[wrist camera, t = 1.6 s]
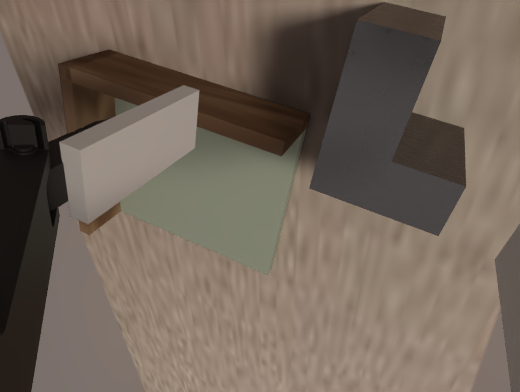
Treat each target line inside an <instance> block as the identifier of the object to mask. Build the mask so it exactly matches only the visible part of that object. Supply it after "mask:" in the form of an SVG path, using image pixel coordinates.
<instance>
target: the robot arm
mask: <svg viewBox="0 0 520 392" xmlns="http://www.w3.org/2000/svg"><path fill="white" fill-rule="evenodd" d="M198 102H199V90H197V89H194V88H191V87H188V86H185V85H183V86H181V87H179V88H176V89H174V90H172V91H170V92H168V93H165V94H163V95H161V96H159V97H157V98H154V99H152V100H150V101H148V102H146V103H144V104H141V105H139V106H137V107H135V108H133V109H130V110H128V111H126V112H124V113H122V114H119V115H117V116H115V117H113V118H111V119H105V120H100V121H95V122H93V123H90V124H88V125H86V126H84V128H82V127H81V128H79V129H77V130H75V132H70V133H68V134H66V135H63V136H61V137H59V138H57V139H55V140H52V141H50V142H48V139H47V133H46V126H45V121H43V120H42V119H40V118H38V117H34V116H27V115H18V116H17V115H16V116H10V117H5V118H3V119H0V392H31V389H32V383H33V377H34V371H35V365H36V359H37V352H38V346H39V340H40V334H41V327H42V321H43V315H44V309H45V303H46V297H47V290H48V284H49V278H50V272H51V265H52V259H53V254H54V247H55V241H56V235H57V229H58V223H59V216H60V215H59V209H58V207H59V206H61V205H62V204H64V203H66V202H67V201H68V208H69V215H70V216H71V217H73V218H75V219H77V220H80V221H82V222H84V223H86V224H89V223H91V222H92V221H94V220H95V219H96V218H98V217H99V216H101V215H102V214H103V213H105V212H106V211H108V210H109V209H110V208H112V207H113V206H114V205H116V204H117V203H119V202H120V201H121V200H123V199H124V198H126V197H127V196H128V195H130V194H131V193H133V192H134V191H135V190H137V189H138V188H140V187H141V186H142V185H144V184H145V183H147V182H148V181H149V180H151V179H152V178H154V177H155V176H156V175H158V174H159V173H161V172H162V171H163V170H165V169H166V168H168V167H169V166H170V165H172V164H173V163H175V162H176V161H177V160H179V159H180V158H182V157H183V156H184V155H186V154H187V153H189V152H190V151H191V150H193V149H194V148H195V140H196V127H197V114H198ZM495 265H496V273H497V281H498V289H499V297H500V305H501V313H502V321H503V329H504V337H505V345H506V353H507V361H508V370H509V377H510V385H511V392H520V224H519V226H518V227H517V229H516V230H515V232H514V233H513V234H512V236H511V237H510V239H509V240H508V242H507V243H506V245H505V246H504V247H503V249H502V250H501V252H500V253H499V255H498V256H497V257H496V259H495Z"/></svg>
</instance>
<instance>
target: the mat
mask: <svg viewBox="0 0 520 392" xmlns="http://www.w3.org/2000/svg"><path fill="white" fill-rule="evenodd" d="M137 106H138V105H135V104H132V103H129V102H126V101H123V100H121V99H118V98H115V112H116V116H117V115H119V114H122V113H124V112H126V111H128V110H130V109H133V108H135V107H137ZM306 129H307V128H306ZM306 129H305V130H304V131H303V133H302V134H301V135H300V136H299V137H298V138H297V139H296V141H295V142H294V143H293V144H292V145H291V146H290V148H289V149H288V150H287V151H286V152H285V153H284V154H283V156H282V157H281V156H278V155H276V154H273V153H270V152H267V151H264V150H262V149H259V148H256V147H253V146H250V145H247V144H245V143H242V142H239V141H236V140H233V139H231V138H228V137H225V136H222V135H219V134H216V133H214V132H211V131H208V130H205V129H202V128H200V127H196V140H195V148H194V149H193V150H191V151H190V152H189V153H187V154H186V155H184V156H183V157H182V158H180V159H179V160H177V161H176V162H175V163H173V164H172V165H170V166H169V167H168V168H166V169H165V170H163V171H162V172H161V173H159V174H158V175H156V176H155V177H154V178H152V179H151V180H149V181H148V182H147V183H145V184H144V185H142V186H141V187H140V188H138V189H137V190H135V191H134V192H133V193H131V194H130V195H128V196H127V197H126V198H124V199H123V200H121V201H120V205H121V211H122V212H124V213H126V214H129V215H131V216H133V217H136V218H138V219H140V220H142V221H145V222H147V223H149V224H152V225H154V226H156V227H158V228H161V229H163V230H165V231H168V232H170V233H172V234H174V235H177V236H179V237H181V238H184V239H186V240H188V241H190V242H193V243H195V244H197V245H200V246H202V247H204V248H206V249H209V250H211V251H213V252H216V253H218V254H220V255H222V256H225V257H227V258H229V259H232V260H234V261H236V262H238V263H241V264H243V265H245V266H248V267H250V268H252V269H254V270H257V271H259V272H261V273H264V274H266V275H268V274H269V272H270V271H271V269H272V265H273V261H274V257H275V253H276V249H277V245H278V241H279V237H280V233H281V229H282V225H283V221H284V217H285V213H286V209H287V205H288V201H289V197H290V193H291V189H292V185H293V181H294V177H295V173H296V169H297V165H298V161H299V157H300V153H301V149H302V145H303V141H304V137H305V133H306Z"/></svg>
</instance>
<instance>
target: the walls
mask: <svg viewBox="0 0 520 392" xmlns="http://www.w3.org/2000/svg"><path fill="white" fill-rule="evenodd" d="M58 66H59V73H60V81H61V88H62V96H63V103H64V111H65V118H66V126H67V133H70V132H75V130H77V129H79V128H81V127H82V128H84V126H86V125H88V124H90V123H93V122H95V121H100V120H105V119H111V118H113V117H115V116H116V112H115V98H118V99H121V100H123V101H126V102H129V103H132V104H135V105H138V106H139V105H141V104H144V103H146V102H148V101H150V100H152V99H154V98H157V97H159V96H161V95H163V94H165V93H168V92H170V91H172V90H174V89H176V88H179V87H181V86H183V85H185V86H188V87H191V88H194V89H197V90H199V102H198V114H197V127H200V128H202V129H205V130H208V131H211V132H214V133H216V134H219V135H222V136H225V137H228V138H231V139H233V140H236V141H239V142H242V143H245V144H247V145H250V146H253V147H256V148H259V149H262V150H264V151H267V152H270V153H273V154H276V155H278V156H281V157H282V156H283V154H284V153H285V152H286V151H287V150H288V149H289V148H290V146H291V145H292V144H293V143H294V142H295V141H296V139H297V138H298V137H299V136H300V135H301V134H302V133H303V131H304V130H305V129H306V128H307V125H308V121H309V117H310V114H308V113H305V112H302V111H299V110H296V109H293V108H290V107H287V106H283V105H280V104H277V103H274V102H271V101H268V100H265V99H262V98H259V97H255V96H252V95H249V94H246V93H243V92H240V91H237V90H234V89H230V88H227V87H224V86H221V85H218V84H215V83H212V82H209V81H205V80H202V79H199V78H196V77H193V76H190V75H187V74H184V73H181V72H177V71H174V70H171V69H168V68H165V67H162V66H159V65H156V64H152V63H149V62H146V61H143V60H140V59H137V58H134V57H131V56H127V55H124V54H121V53H118V52H115V51H112V50H106V51H103V52H99V53H95V54H92V55H88V56H84V57H81V58H77V59H73V60H70V61H66V62H62V63H59V64H58ZM120 211H121V205H120V202H119V203H117V204H116V205H114V206H113V207H112V208H110V209H109V210H108V211H106V212H105V213H103V214H102V215H101V216H99V217H98V218H96V219H95V220H94V221H92V222H91V223H89V224H86V223H84V222H82V221H80V220H79V224H80V231H82V232H84V233H86V234H88V235H90V234H91V233H93V232H94V231H95V230H97V229H98V228H99V227H101V226H102V225H103V224H105V223H106V222H107V221H108V220H110V219H111V218H112V217H114V216H115V215H116V214H118V213H119V212H120Z"/></svg>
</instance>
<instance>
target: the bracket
mask: <svg viewBox="0 0 520 392" xmlns="http://www.w3.org/2000/svg"><path fill="white" fill-rule="evenodd" d="M445 19H446V17H445V16H441V15H437V14H432V13H428V12H424V11H420V10H416V9H411V8H407V7H403V6H399V5H394V4H390V3H386V2H384V3H382V4H381V5H379V6H378V7H376V8H374V9H373V10H371V11H370V12H368V13H367V14H365V15H363V16H362V17H360V18H359V19H357V21H356V25H355V28H354V32H353V36H352V39H351V43H350V46H349V50H348V53H347V57H346V60H345V64H344V67H343V71H342V74H341V78H340V81H339V85H338V89H337V92H336V96H335V99H334V103H333V106H332V110H331V113H330V117H329V120H328V124H327V127H326V131H325V135H324V138H323V142H322V145H321V149H320V152H319V156H318V159H317V163H316V166H315V170H314V173H313V177H312V180H311V184H310V189H313V190H315V191H318V192H321V193H323V194H326V195H329V196H331V197H334V198H337V199H340V200H342V201H345V202H348V203H350V204H353V205H356V206H359V207H361V208H364V209H367V210H369V211H372V212H375V213H377V214H380V215H383V216H386V217H388V218H391V219H394V220H396V221H399V222H402V223H404V224H407V225H410V226H413V227H415V228H418V229H421V230H423V231H426V232H429V233H432V234H434V235H437V236H439V234H440V232H441V230H442V229H443V227H444V225H445V223H446V222H447V220H448V218H449V216H450V214H451V213H452V211H453V209H454V207H455V205H456V204H457V202H458V200H459V198H460V196H461V195H462V193H463V191H464V189H465V188H466V170H465V139H464V128H462V127H459V126H456V125H452V124H449V123H446V122H442V121H439V120H436V119H432V118H429V117H426V116H422V115H419V114H416V113H412V110H413V108H414V105H415V103H416V101H417V98H418V96H419V93H420V91H421V88H422V86H423V83H424V81H425V79H426V76H427V74H428V71H429V69H430V66H431V64H432V61H433V59H434V57H435V54H436V52H437V49H438V47H439V44H440V42H441V38H442V33H443V28H444V24H445Z"/></svg>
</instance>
